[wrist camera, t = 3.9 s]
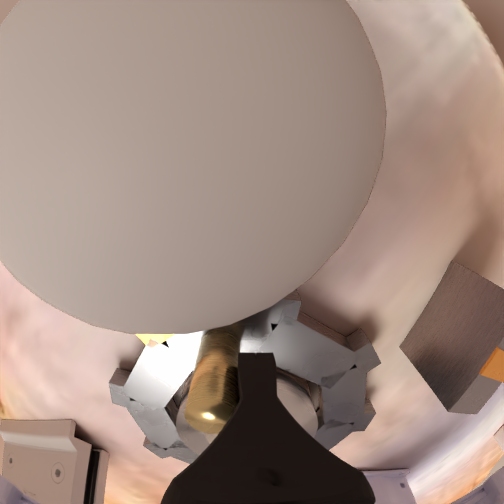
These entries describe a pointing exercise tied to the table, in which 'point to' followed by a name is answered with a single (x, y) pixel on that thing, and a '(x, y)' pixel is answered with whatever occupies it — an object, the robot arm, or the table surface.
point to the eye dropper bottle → (500, 437)
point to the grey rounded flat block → (53, 462)
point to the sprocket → (226, 375)
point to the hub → (288, 391)
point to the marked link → (460, 340)
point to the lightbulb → (182, 153)
